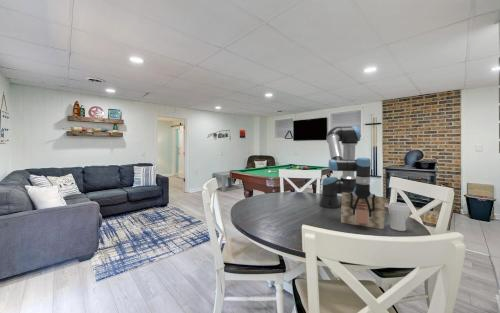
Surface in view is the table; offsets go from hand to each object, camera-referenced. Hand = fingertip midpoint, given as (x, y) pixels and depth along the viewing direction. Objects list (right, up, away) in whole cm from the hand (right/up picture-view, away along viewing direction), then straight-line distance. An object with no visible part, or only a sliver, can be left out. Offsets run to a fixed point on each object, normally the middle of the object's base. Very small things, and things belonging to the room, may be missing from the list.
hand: (361, 220), depth 130 cm
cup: (+22, -5, -1) cm, 22 cm away
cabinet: (+1, 0, +2) cm, 2 cm away
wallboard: (+3, -4, +6) cm, 8 cm away
